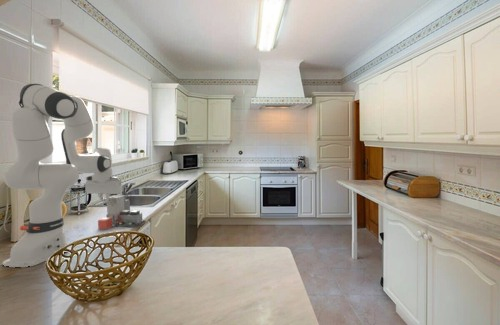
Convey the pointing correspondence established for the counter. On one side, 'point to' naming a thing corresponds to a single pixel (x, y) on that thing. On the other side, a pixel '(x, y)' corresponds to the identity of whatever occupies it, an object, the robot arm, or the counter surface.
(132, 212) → the plunger
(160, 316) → the counter surface
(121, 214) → the plunger
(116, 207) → the circuit breaker
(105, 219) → the red cube
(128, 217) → the breaker panel
